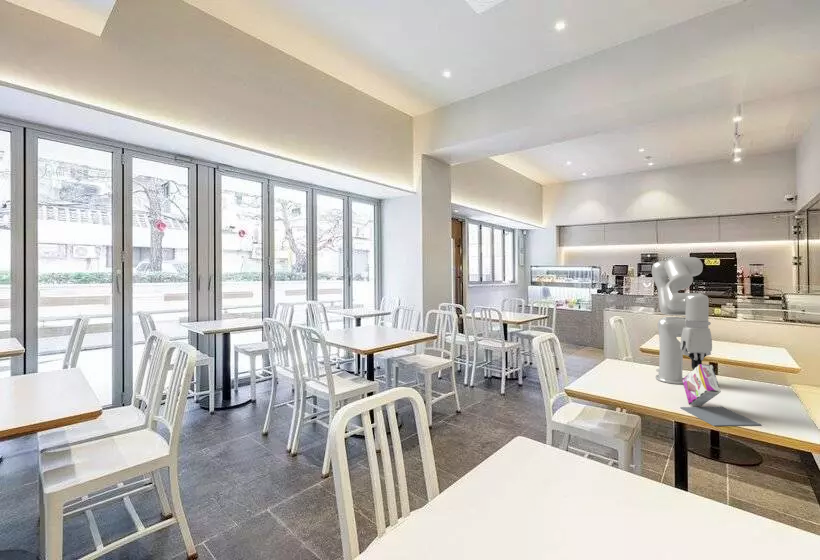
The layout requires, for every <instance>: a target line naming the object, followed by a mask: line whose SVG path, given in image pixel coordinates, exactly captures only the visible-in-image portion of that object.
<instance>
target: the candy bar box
mask: <svg viewBox="0 0 820 560" xmlns="http://www.w3.org/2000/svg"><path fill="white" fill-rule="evenodd" d="M682 378H683V379H682V381H683V384H682V385H683V388H684V391H685V394H686V398H687V402H688V405H689V406H696V407H703V405H705V404H706V403H707V402H709V401H710V400H712V399H713V398H715V397H716V396H717V395H719V394H721V387H720V385H719V382H718V379H717V375H716V373H715V370H714V366H713V364H703V363H702V364H699V365H698V366H697V367H695V368H694V369H692V370H691V371H690V372H689V373H688V374H687V375H686V376H685V377H682Z"/></svg>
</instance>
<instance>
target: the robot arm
mask: <svg viewBox="0 0 820 560" xmlns="http://www.w3.org/2000/svg"><path fill="white" fill-rule="evenodd" d="M703 267H704V263H703V262H702V260H701V259H700V258H699V257H695V256H686V257H685V256H684V257H683V256H681V257H680V256H679V257H671V258H669V259H667V260H662V261H661V260H660V261H656V262H654V263H653V264H652V266H651V275H652V279H653V281H654V284H655V286H656V289H657V296H658V297H657V298H658V307H659V311H660V313H661V314H663V315H666V316H665V317H662V318H659V319H658V321H657V330H658V337H659V338H658V339H659V358H658V361H659V365H658V366H659V367H658V368H657V369H656V372H658V374H656V375H655V379H656V381H659V382H663V383H665V384H675V385H683V381H682V379H683V378H684V377H683V367H684V366H683V363H684V362H683V359H684V358H683V355H684V356H687V357H689V359H690V360H691V369H692V370H693V369H694V368H695V367H697V366H698V365H699V364H703V360H704V359H705V358H706V357H707V356H711V355H712V351H713V340H712V339H713V338H712V332H711V328H709V326H711V322H710V321H709V313H710V312H709V309H710V308H709V306H710V305H709V302H710V301H709V300H710V299H709V297H708V295H706V294H703V293H697V292H679V291H681V290H684V289H687V288H689V287H690V286H691V285H692V283H693V282H694V277H696V276H699V275H701V273H702V272H703V270H704V269H703ZM667 315H668V316H667ZM680 316H681V317H680ZM682 316H683V317H682ZM679 337H680V341H679V339H678V338H679Z"/></svg>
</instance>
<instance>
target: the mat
mask: <svg viewBox="0 0 820 560" xmlns="http://www.w3.org/2000/svg"><path fill="white" fill-rule="evenodd" d="M680 409H681V410H683V411H685V412H687V413H688V414H691V416H694V417H696V418H697V419H700V420H701V421H704V422H705V423H707V424H709V425H711V426H713V427H742V426H743V427H745V426H751V427H753V426H754V427H755V426H762V423H760V422H757V421H755V420H753V419H751V418H750V417H746V416H744V415H742V414H740V413H737V412H735V411H733V410H732V409H729V408H727V407H724V406H683V407H682V406H681V407H680Z"/></svg>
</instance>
